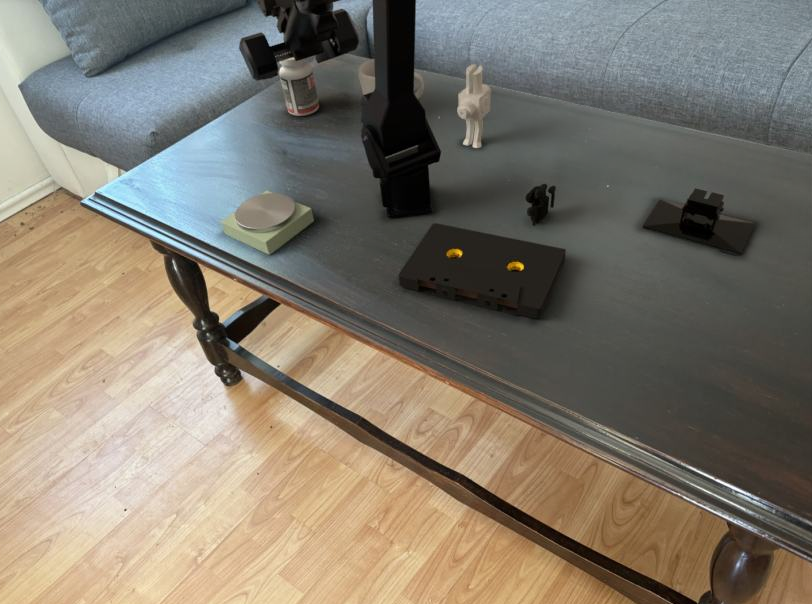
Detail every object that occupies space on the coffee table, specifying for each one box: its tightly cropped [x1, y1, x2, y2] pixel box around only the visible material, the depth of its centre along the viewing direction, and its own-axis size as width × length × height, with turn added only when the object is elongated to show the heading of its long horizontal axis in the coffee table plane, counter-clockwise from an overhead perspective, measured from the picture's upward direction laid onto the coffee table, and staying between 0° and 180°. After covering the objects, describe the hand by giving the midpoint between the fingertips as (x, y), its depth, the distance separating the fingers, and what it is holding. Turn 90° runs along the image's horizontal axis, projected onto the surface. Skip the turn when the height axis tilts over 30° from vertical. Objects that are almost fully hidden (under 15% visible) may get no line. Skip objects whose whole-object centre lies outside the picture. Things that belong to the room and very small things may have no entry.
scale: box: [220, 190, 315, 256], centre depth 92 cm, size 9×9×3 cm
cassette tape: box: [398, 222, 567, 320], centre depth 82 cm, size 18×12×2 cm, turn 66°
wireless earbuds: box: [525, 183, 557, 227], centre depth 88 cm, size 7×2×5 cm, turn 142°
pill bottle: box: [278, 52, 320, 117], centre depth 114 cm, size 6×6×10 cm
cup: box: [357, 58, 425, 100], centre depth 111 cm, size 11×8×8 cm
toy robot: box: [456, 63, 492, 149], centre depth 101 cm, size 4×8×12 cm, turn 147°
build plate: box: [641, 188, 756, 256], centre depth 84 cm, size 12×7×5 cm, turn 57°
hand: (293, 68), depth 113 cm, fingers open, 9 cm apart
